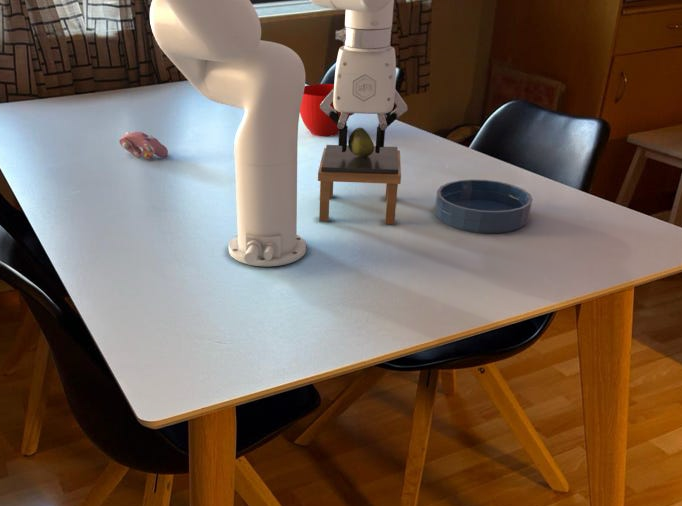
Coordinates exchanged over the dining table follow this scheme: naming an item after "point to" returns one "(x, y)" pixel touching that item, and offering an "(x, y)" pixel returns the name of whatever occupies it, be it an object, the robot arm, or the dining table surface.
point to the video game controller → (143, 145)
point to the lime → (360, 143)
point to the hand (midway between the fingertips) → (360, 149)
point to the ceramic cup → (318, 110)
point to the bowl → (483, 206)
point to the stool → (359, 174)
